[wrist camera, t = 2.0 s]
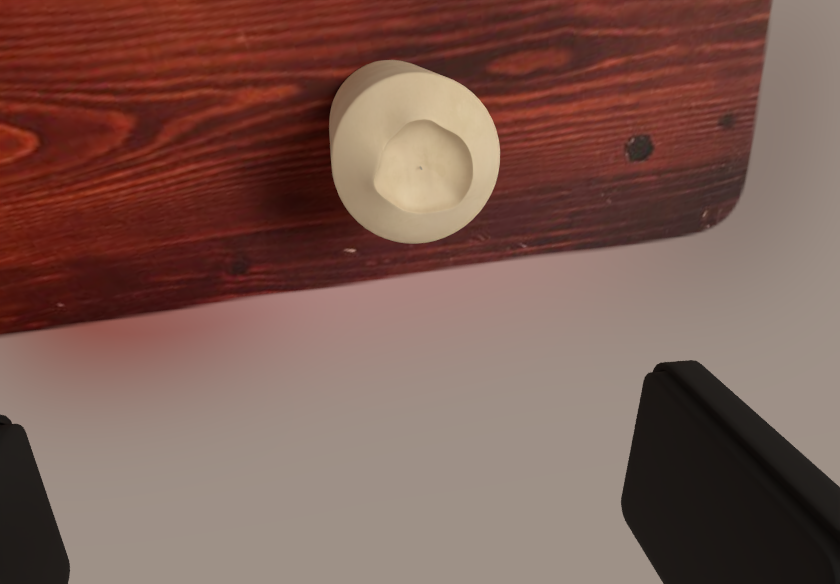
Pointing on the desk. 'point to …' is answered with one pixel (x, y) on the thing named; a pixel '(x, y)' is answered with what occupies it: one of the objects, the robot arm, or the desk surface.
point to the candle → (411, 151)
